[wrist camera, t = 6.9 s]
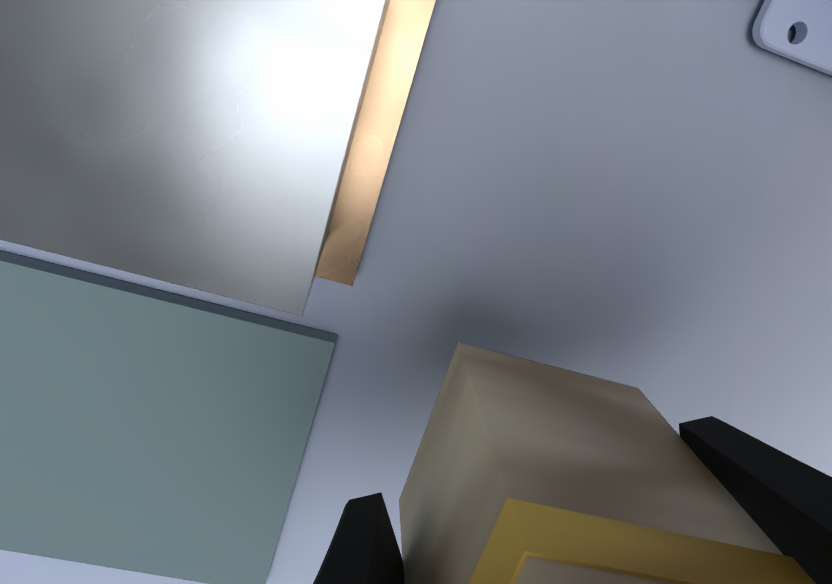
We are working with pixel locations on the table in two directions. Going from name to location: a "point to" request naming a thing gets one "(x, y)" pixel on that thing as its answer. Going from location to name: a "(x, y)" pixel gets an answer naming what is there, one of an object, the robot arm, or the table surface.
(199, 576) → the mat
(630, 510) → the block
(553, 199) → the table surface
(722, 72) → the table surface
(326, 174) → the mounted unit
